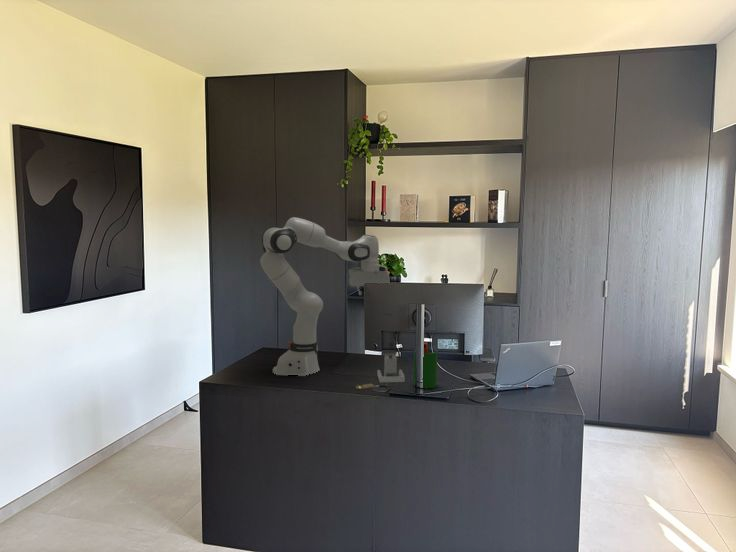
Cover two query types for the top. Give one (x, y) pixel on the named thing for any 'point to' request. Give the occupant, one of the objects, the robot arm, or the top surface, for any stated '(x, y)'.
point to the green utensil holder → (428, 368)
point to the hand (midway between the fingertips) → (369, 294)
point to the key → (364, 386)
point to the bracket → (391, 377)
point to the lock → (390, 365)
